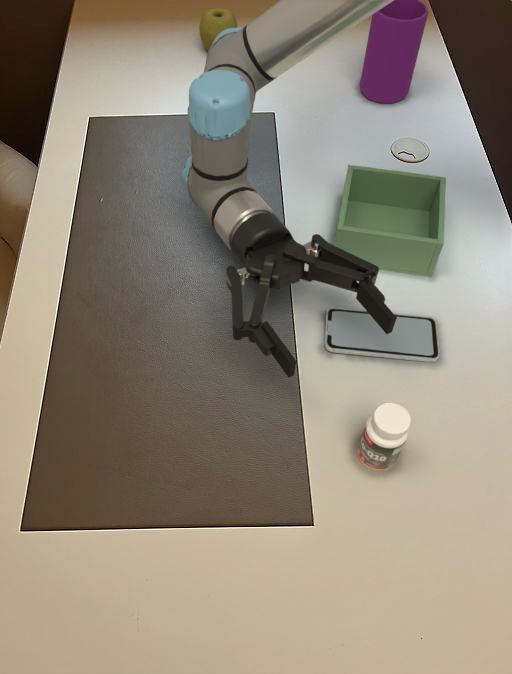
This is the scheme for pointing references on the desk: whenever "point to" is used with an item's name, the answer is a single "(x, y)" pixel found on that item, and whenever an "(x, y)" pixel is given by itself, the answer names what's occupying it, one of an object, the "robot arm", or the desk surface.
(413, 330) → the smartphone
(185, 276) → the desk surface
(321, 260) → the robot arm
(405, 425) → the pill bottle
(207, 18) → the apple
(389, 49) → the mug
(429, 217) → the open storage box
